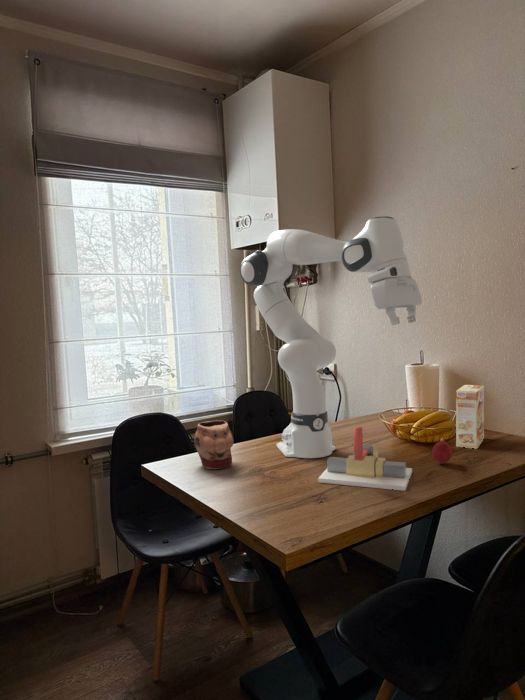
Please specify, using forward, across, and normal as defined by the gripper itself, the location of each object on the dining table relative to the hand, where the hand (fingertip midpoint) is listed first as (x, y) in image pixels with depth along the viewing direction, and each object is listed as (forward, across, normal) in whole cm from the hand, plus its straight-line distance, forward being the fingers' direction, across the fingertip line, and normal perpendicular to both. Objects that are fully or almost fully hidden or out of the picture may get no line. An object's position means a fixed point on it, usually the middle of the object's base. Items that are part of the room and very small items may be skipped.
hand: (404, 323), depth 141 cm
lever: (+34, +7, -18) cm, 39 cm away
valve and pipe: (+41, +3, -21) cm, 46 cm away
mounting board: (+41, +3, -21) cm, 46 cm away
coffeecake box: (+44, -49, -11) cm, 67 cm away
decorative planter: (+31, +21, -65) cm, 75 cm away
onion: (+44, -21, -9) cm, 49 cm away
